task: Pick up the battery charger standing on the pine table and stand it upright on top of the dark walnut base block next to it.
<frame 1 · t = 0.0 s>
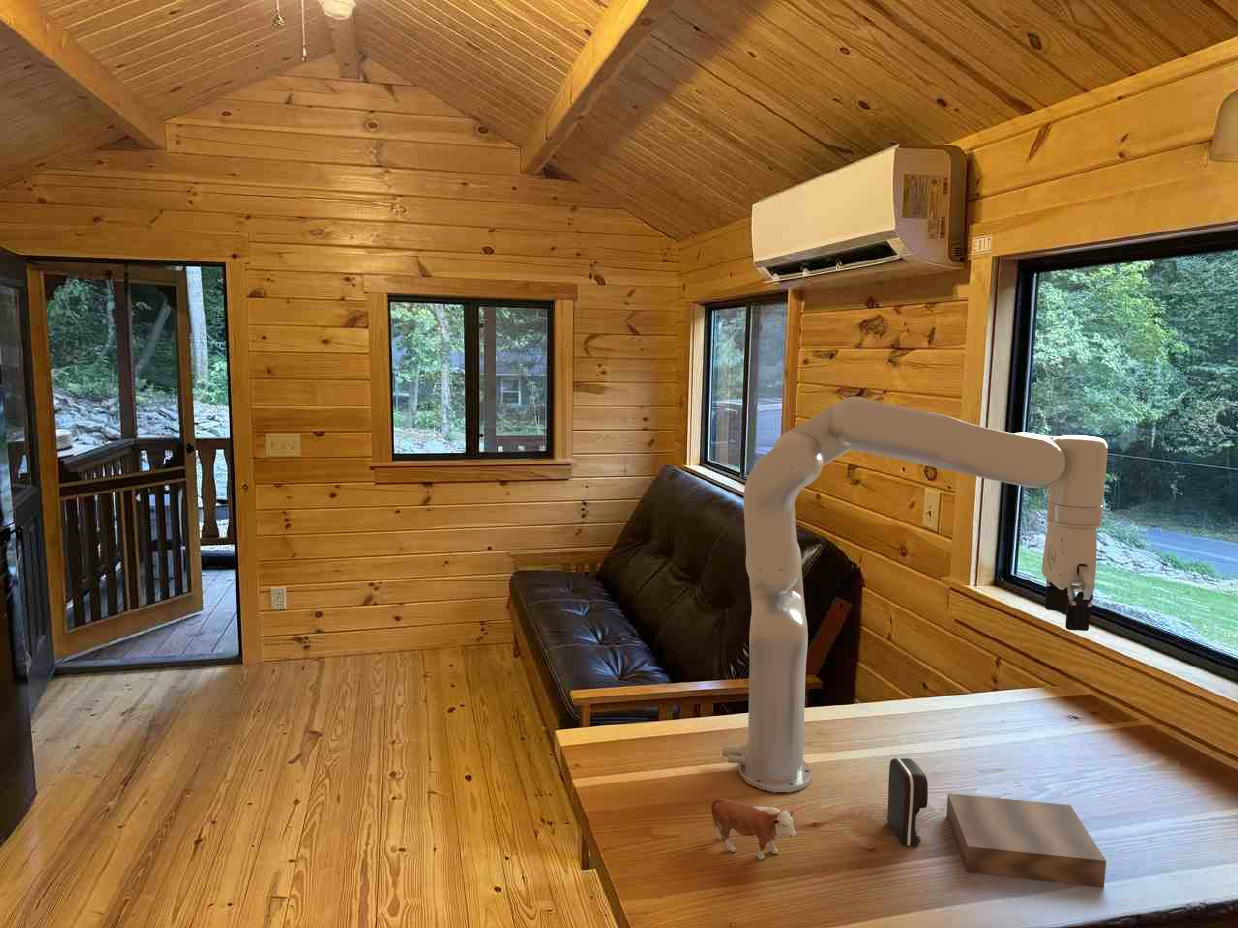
hand: (1065, 619, 129), 31 cm above the table, tool pointing down, fingers open, 9 cm apart
bull figurine: (753, 853, 120), on the table
walnut base: (1019, 849, 121), on the table
battery charger: (906, 834, 125), on the table
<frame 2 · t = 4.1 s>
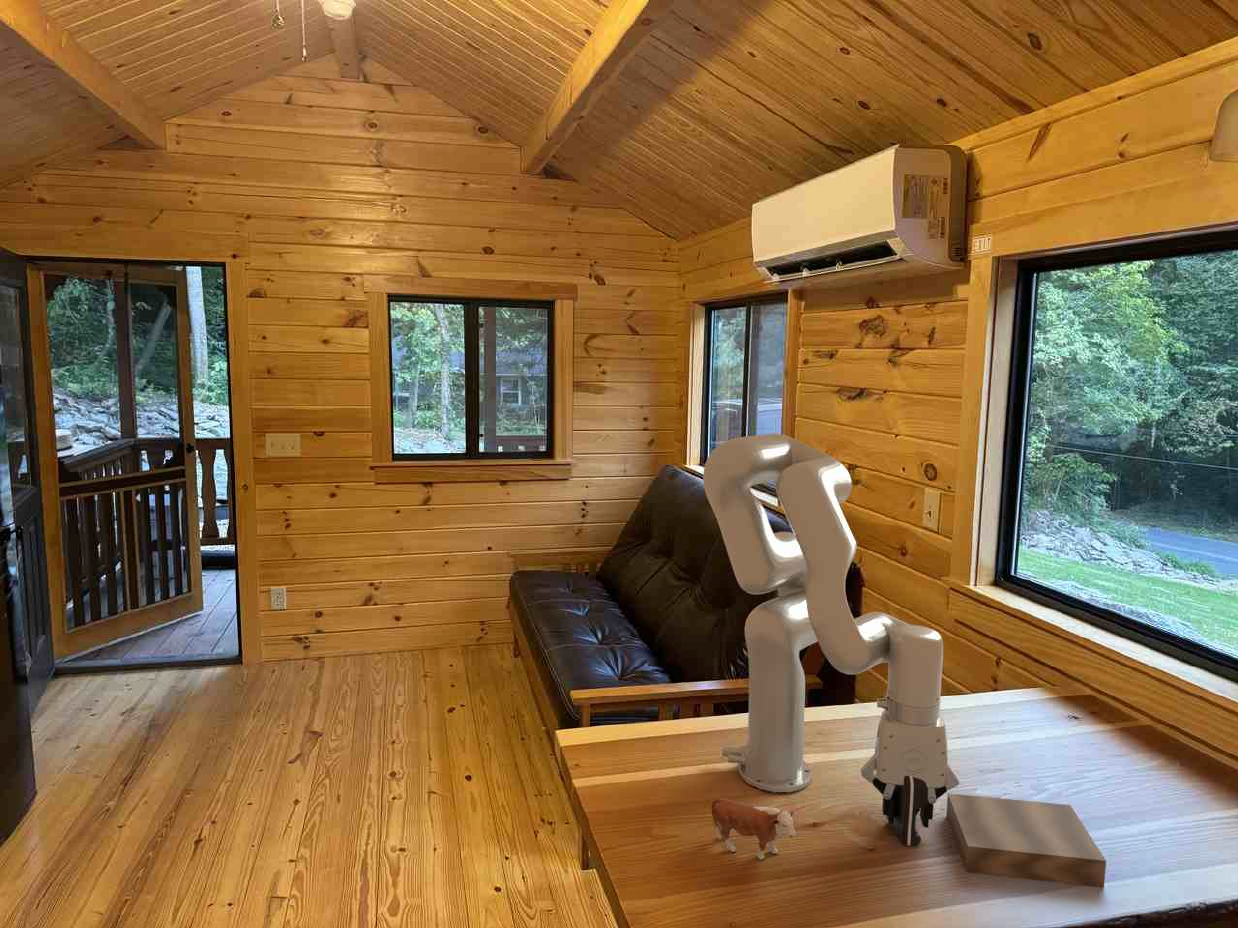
hand: (906, 819, 124), 2 cm above the table, tool pointing down, fingers closed on battery charger, 4 cm apart
battery charger: (906, 834, 125), on the table, touching gripper
everything else where it was.
when the fingers open (8 cm above the table, at t = 9.1 s): battery charger drops 1 cm, resting on walnut base.
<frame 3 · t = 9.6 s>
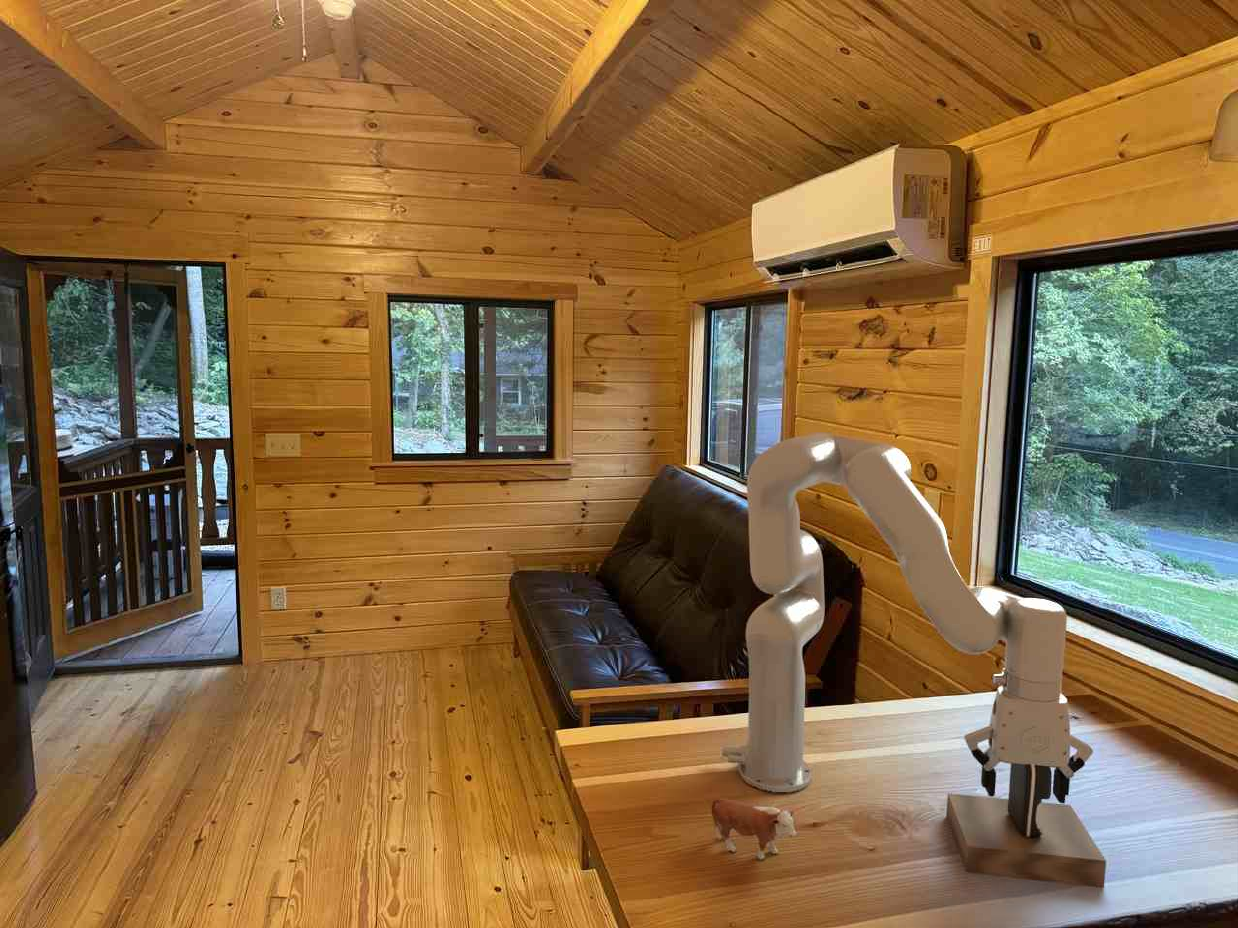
hand: (1023, 794, 120), 9 cm above the table, tool pointing down, fingers open, 9 cm apart
battery charger: (1027, 826, 120), point 4 cm above the table, touching walnut base
everything else where it was.
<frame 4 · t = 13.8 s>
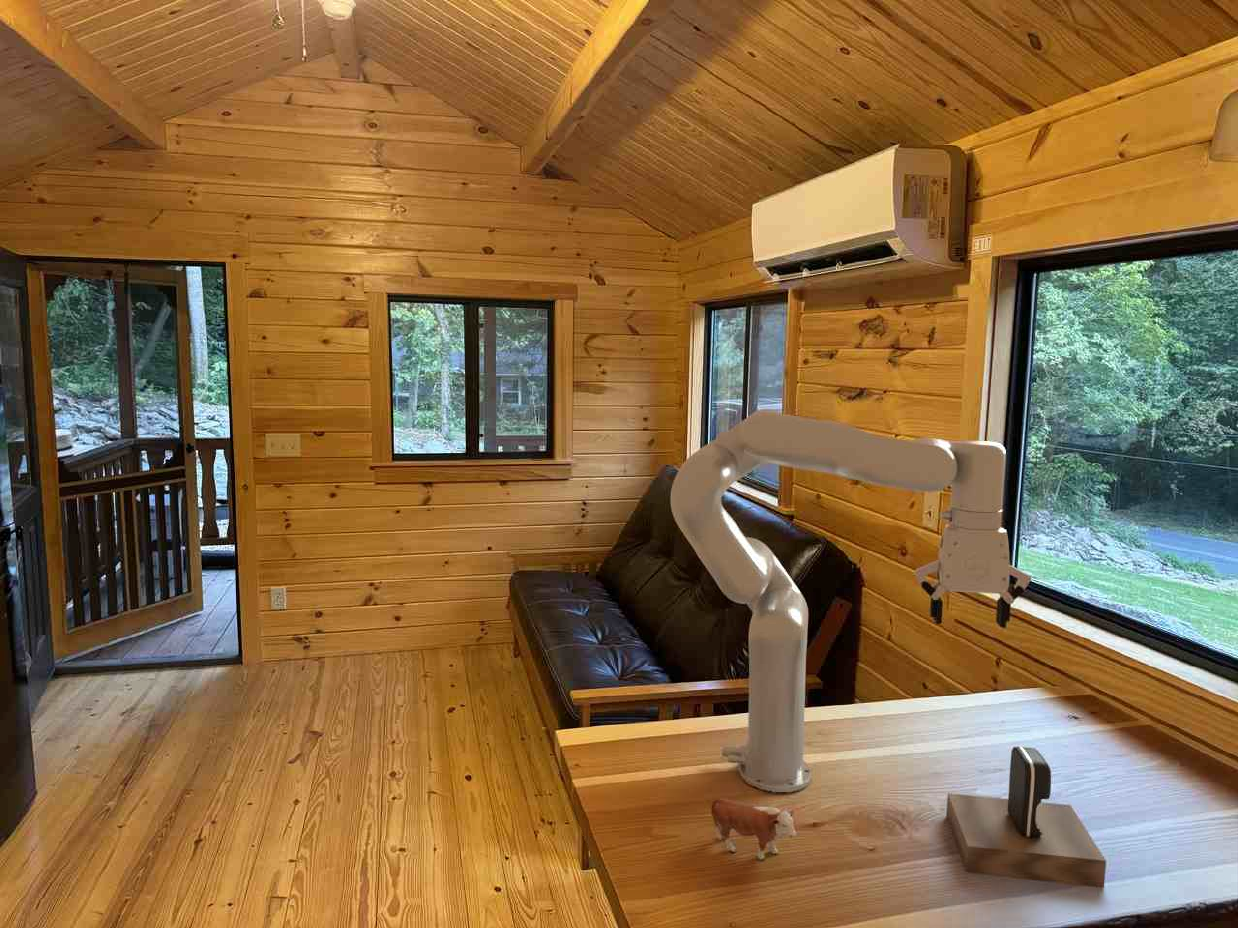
hand: (968, 623, 130), 30 cm above the table, tool pointing down, fingers open, 9 cm apart
nothing on the table moved.
at the end: battery charger inside the target area on the walnut base (0.8 cm from its centre), point 3.8 cm above the walnut base's base; battery charger tilted 0°; the gripper is holding nothing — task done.
